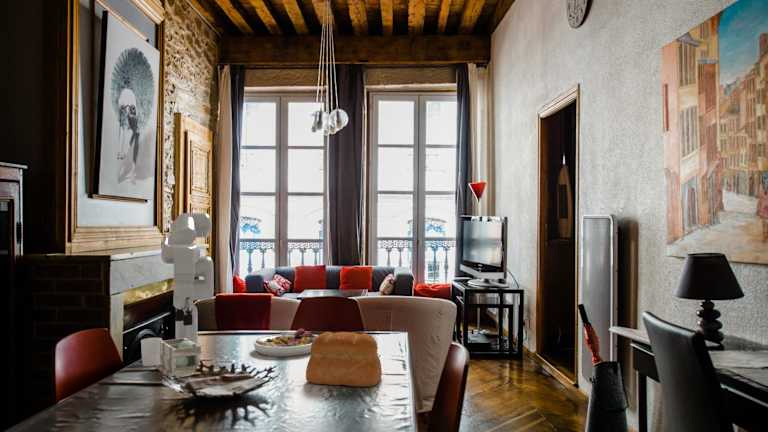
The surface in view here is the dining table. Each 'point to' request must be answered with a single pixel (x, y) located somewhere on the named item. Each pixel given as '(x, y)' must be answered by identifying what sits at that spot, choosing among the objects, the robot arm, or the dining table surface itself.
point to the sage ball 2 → (181, 362)
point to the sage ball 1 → (185, 344)
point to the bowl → (285, 344)
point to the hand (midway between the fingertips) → (183, 323)
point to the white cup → (150, 351)
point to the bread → (344, 360)
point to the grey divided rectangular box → (172, 352)
